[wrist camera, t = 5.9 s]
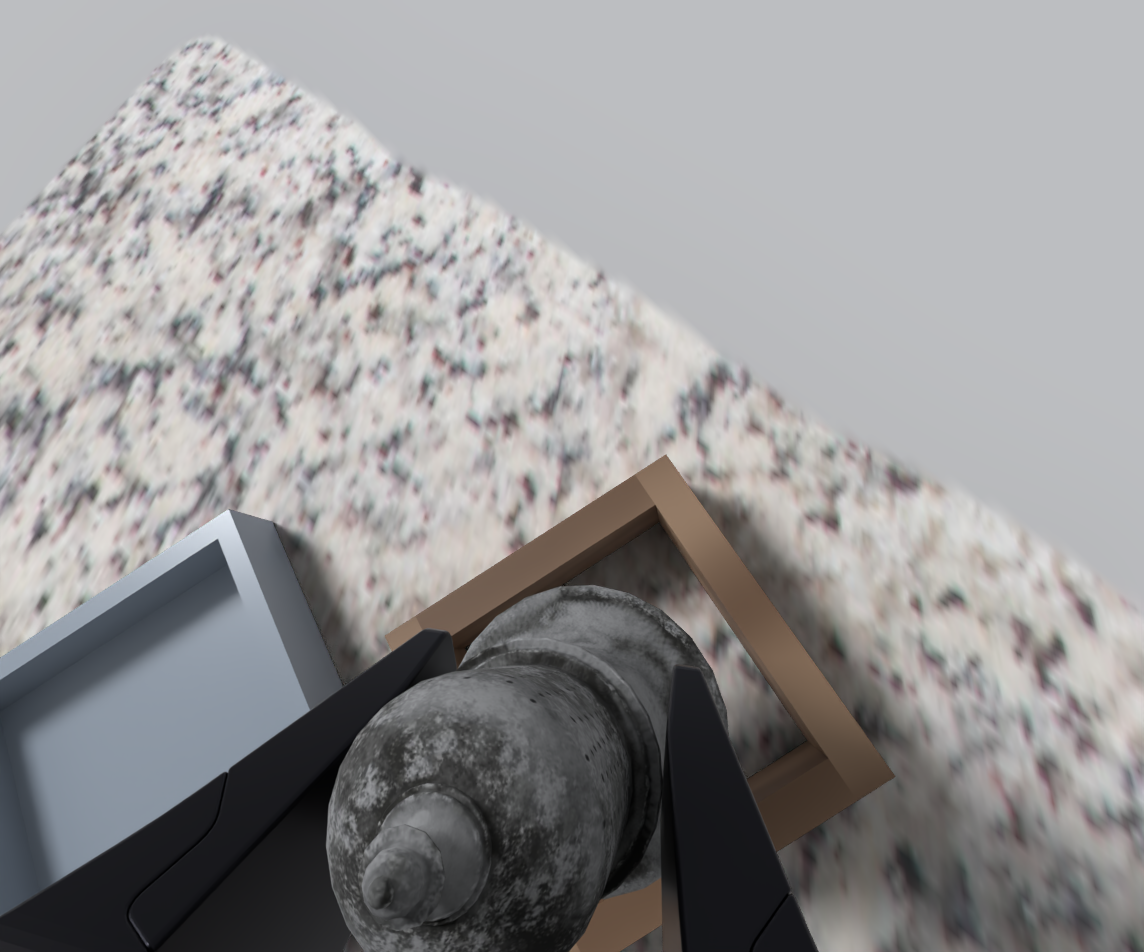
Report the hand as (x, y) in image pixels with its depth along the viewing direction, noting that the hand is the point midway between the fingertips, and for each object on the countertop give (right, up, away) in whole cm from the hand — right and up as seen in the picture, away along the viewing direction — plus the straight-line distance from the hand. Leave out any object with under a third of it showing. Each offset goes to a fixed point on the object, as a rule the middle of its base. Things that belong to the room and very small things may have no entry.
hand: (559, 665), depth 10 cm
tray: (-15, -8, +13) cm, 21 cm away
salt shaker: (+1, -3, +6) cm, 7 cm away
